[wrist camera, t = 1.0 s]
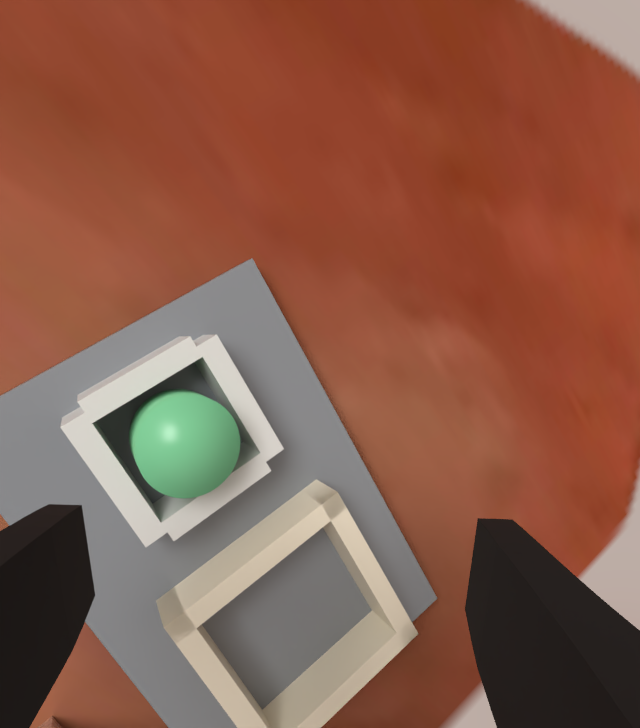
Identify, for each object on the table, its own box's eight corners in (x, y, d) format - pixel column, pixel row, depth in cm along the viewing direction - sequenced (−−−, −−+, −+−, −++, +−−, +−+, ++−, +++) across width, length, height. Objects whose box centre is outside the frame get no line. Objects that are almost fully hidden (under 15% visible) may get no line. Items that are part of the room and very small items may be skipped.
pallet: (217, 776, 22) (240, 847, 19) (-56, 426, 18) (-85, 444, 14) (422, 587, 26) (468, 620, 23) (243, 262, 22) (270, 249, 18)
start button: (160, 497, 18) (171, 519, 16) (109, 422, 17) (113, 434, 15) (237, 445, 19) (257, 458, 17) (192, 371, 18) (207, 375, 16)
